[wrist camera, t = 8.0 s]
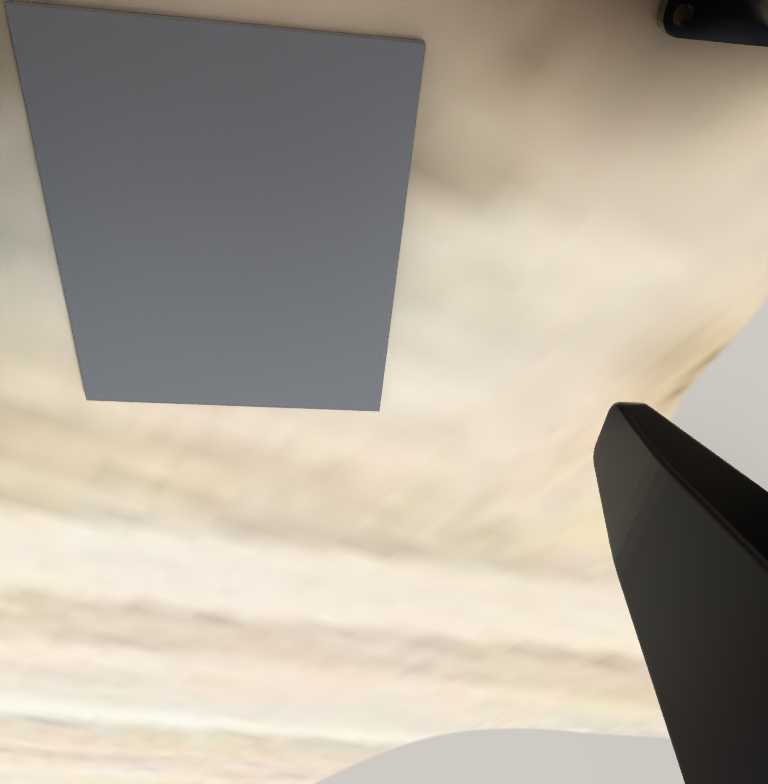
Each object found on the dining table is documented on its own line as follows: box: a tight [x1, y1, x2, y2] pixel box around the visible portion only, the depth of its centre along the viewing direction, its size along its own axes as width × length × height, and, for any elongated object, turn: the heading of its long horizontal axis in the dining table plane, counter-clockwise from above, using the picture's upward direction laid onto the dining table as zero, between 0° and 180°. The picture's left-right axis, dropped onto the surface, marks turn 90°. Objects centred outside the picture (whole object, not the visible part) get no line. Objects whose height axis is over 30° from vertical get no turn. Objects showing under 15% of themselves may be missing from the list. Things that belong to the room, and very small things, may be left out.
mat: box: [5, 1, 425, 411], centre depth 21 cm, size 10×12×1 cm
